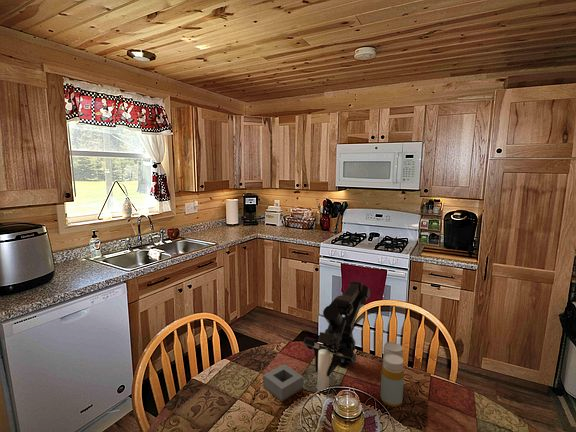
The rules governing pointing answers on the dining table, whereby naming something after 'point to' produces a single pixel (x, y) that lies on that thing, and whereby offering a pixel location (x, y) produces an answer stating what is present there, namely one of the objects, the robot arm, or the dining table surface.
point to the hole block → (283, 382)
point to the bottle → (392, 380)
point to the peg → (323, 369)
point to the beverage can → (392, 350)
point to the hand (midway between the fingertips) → (321, 374)
